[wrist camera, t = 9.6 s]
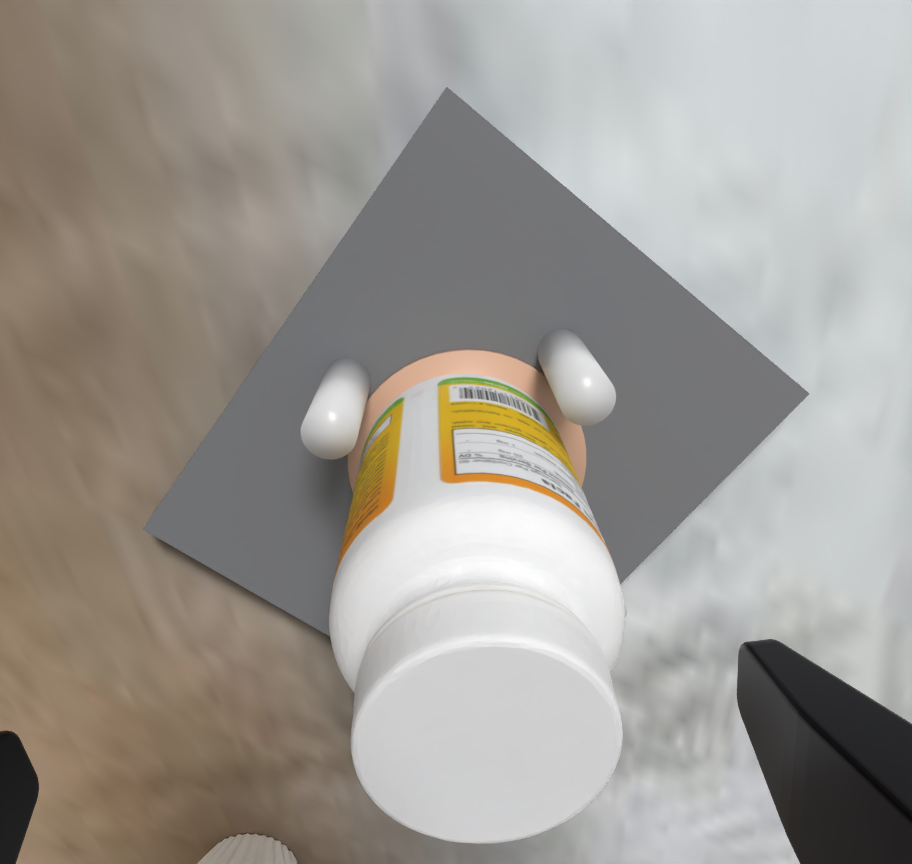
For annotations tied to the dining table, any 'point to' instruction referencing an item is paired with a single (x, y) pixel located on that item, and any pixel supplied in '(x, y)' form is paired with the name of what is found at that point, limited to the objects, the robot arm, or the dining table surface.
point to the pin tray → (473, 367)
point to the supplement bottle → (476, 618)
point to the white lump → (249, 851)
